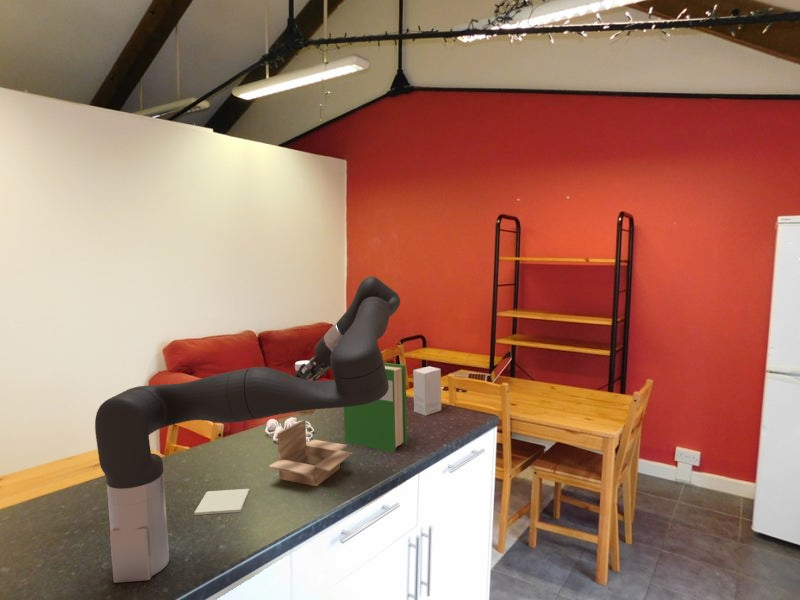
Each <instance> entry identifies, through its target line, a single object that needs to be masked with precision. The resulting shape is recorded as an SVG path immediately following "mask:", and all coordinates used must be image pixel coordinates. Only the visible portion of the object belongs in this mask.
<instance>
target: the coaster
mask: <svg viewBox="0 0 800 600" xmlns="http://www.w3.org/2000/svg"><path fill="white" fill-rule="evenodd" d="M249 494H250V488H241V489H238V488H237V489H224V490H223V489H222V490H210V491H208V490H207V491H206V492H205V494H204V496H203V498H202V499H201V501H200V502H199V504H198V506H197V507H196V509H195V510H194V512H193V513H194V516H200V515H201V516H202V515H211V514H212V515H215V514H231V513H232V514H233V513H242V510H243V507H244V506H245V502H246V500H247V499H248V495H249Z"/></svg>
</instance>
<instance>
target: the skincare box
mask: <svg viewBox="0 0 800 600" xmlns="http://www.w3.org/2000/svg"><path fill="white" fill-rule="evenodd" d="M441 371H442V369H441V368H439V367H433V366H430V365H429V366H426V367H420V368H416V369H413V372H412V375H413V412H414V413H417V414H419V415H423V416H429V415H431V414H435V413H438V412H441V411H442V381H441V380H442V379H441V378H442V376H441V375H442V374H441Z"/></svg>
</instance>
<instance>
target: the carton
mask: <svg viewBox="0 0 800 600" xmlns="http://www.w3.org/2000/svg"><path fill="white" fill-rule="evenodd" d="M299 421H300V422H298V421H297V422H298V423H296V424H294V425H292V426H290V427H289V428H287V429H286V428H285V430H284V429H283V431H281V432H279V433H278V437H277V439H278V441H277V451H278V460H276V461H274V462H273V463H271V464H269V465H268V468H269V469H273V470H274V469H275V470H278V474H279V479H280V480H283V481H289V482H293V483H299V484H303V485H308V486H312V487H318V486H319V485H320V484H322V482H324V481H326V480H327V479H328V478H329V477H331V476H332V475H333V474H335V473H336V472H337V471H338V470H340V469H341V463H342V462H344V461H346V459H348V458H349V457H350V456H351V455H353V452H352V451H345V450H344V449H345V448H347V447H348V444H344V443H343V444H342V443H338V442H337V443H336V442H332V441H331V442H330V441H325V440H319V439H310V441H309V442H308V443H306V437H307V436H306V429H307V428H306V427H307V426H306V425H307V423H306V422H305V421H306V419H302V420H299ZM308 463H309V464H308ZM313 464H314V465H313Z"/></svg>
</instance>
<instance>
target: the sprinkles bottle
mask: <svg viewBox="0 0 800 600" xmlns="http://www.w3.org/2000/svg"><path fill="white" fill-rule="evenodd" d="M309 361H310V360H299V361H296V362H295V363H294V369H295V374H296V373H297V371H298V370H299V368H300V367H301V365H302V364H304V363H305V364H306V365H307V364H308V363H309ZM310 374H311V375H313V374H312V373H311V372H310ZM309 380H311V381H313V379H309ZM315 412H316V409H314V410H305V411H297V414H298V415H300V416H311V415H312V414H315Z"/></svg>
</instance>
